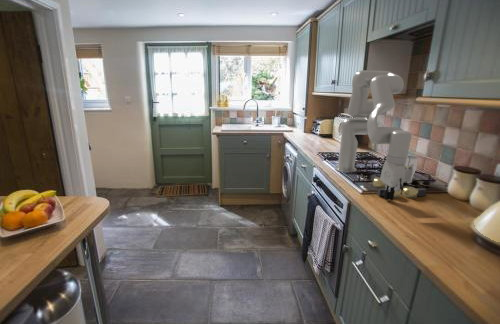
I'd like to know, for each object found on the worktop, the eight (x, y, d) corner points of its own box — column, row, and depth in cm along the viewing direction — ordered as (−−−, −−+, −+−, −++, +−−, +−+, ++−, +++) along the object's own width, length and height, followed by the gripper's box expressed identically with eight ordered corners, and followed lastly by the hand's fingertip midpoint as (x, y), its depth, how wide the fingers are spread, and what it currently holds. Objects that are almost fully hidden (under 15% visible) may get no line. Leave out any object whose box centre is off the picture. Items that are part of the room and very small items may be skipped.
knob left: (388, 188, 131) (389, 181, 130) (376, 188, 130) (377, 181, 129) (377, 180, 140) (378, 174, 139) (366, 180, 140) (367, 174, 139)
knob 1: (395, 193, 125) (396, 186, 124) (402, 198, 119) (404, 191, 118) (374, 193, 124) (376, 186, 123) (381, 198, 119) (382, 191, 118)
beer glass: (414, 186, 138) (421, 159, 133) (400, 185, 139) (406, 158, 134) (409, 181, 144) (415, 155, 140) (396, 180, 145) (401, 154, 141)
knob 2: (407, 198, 119) (408, 191, 118) (399, 193, 125) (400, 186, 124) (428, 198, 120) (429, 191, 119) (419, 193, 126) (420, 186, 125)
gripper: (378, 154, 118) (371, 192, 124) (398, 165, 104) (389, 206, 109) (394, 154, 119) (387, 192, 124) (416, 165, 104) (406, 206, 110)
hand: (388, 199), depth 117 cm, fingers closed
